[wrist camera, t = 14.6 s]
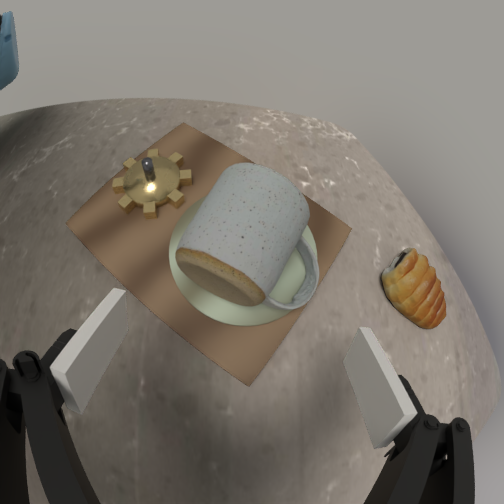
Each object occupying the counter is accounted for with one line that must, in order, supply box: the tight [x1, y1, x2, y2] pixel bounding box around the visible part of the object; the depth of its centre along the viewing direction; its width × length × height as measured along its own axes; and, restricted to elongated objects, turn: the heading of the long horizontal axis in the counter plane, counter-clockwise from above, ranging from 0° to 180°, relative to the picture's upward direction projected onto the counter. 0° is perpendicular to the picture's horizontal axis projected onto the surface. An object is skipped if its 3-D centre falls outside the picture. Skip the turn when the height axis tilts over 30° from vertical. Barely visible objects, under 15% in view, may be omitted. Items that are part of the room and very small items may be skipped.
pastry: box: [382, 248, 446, 329], centre depth 25 cm, size 9×7×4 cm
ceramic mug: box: [175, 163, 319, 310], centre depth 19 cm, size 11×8×8 cm
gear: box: [112, 149, 192, 220], centre depth 24 cm, size 8×8×4 cm
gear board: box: [66, 123, 352, 386], centre depth 25 cm, size 23×18×2 cm
